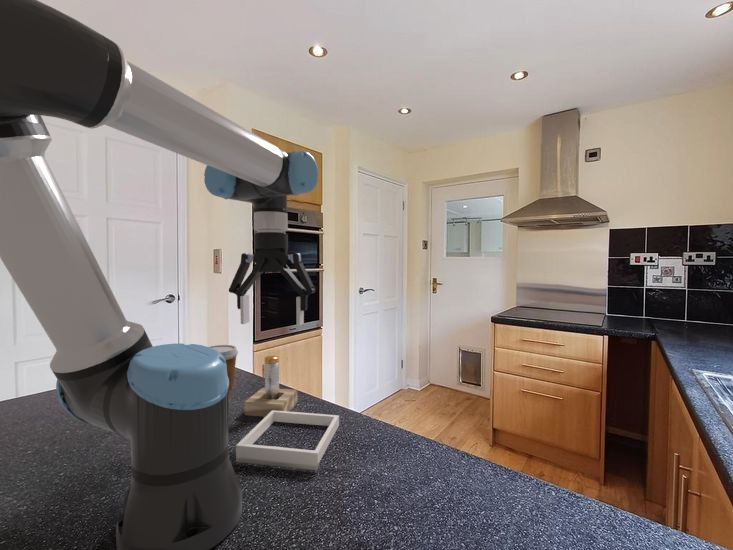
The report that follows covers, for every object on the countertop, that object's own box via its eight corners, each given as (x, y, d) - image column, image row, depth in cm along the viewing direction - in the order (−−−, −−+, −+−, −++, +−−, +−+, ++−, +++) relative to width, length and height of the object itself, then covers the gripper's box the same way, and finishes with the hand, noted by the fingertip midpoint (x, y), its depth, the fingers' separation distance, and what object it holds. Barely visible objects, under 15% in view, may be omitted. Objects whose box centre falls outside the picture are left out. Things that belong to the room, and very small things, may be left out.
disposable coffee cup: (230, 400, 91) (229, 353, 90) (193, 399, 91) (192, 353, 91) (243, 386, 100) (243, 344, 100) (210, 386, 101) (209, 344, 100)
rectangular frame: (317, 470, 61) (317, 453, 61) (236, 461, 63) (235, 445, 63) (339, 429, 75) (339, 415, 75) (272, 423, 78) (272, 410, 78)
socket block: (282, 422, 79) (282, 404, 78) (244, 419, 80) (244, 401, 80) (297, 405, 87) (297, 389, 87) (262, 403, 89) (262, 387, 89)
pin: (275, 411, 82) (275, 359, 81) (262, 410, 82) (262, 359, 82) (281, 405, 85) (281, 356, 85) (268, 404, 86) (268, 355, 85)
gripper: (328, 232, 84) (328, 322, 85) (229, 233, 88) (231, 319, 89) (318, 230, 76) (319, 328, 77) (211, 231, 80) (213, 325, 81)
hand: (272, 324), depth 83 cm, fingers open, 13 cm apart
